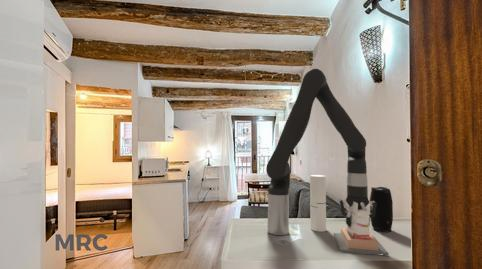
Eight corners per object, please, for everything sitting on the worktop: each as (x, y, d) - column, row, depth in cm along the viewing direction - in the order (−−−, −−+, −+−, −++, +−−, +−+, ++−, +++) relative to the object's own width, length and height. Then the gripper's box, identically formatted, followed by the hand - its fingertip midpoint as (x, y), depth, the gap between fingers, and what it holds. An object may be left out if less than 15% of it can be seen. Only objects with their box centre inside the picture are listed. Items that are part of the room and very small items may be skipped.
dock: (340, 251, 91) (340, 240, 92) (333, 235, 109) (333, 225, 109) (388, 256, 88) (388, 244, 88) (373, 238, 105) (373, 228, 106)
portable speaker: (395, 233, 111) (394, 189, 112) (372, 231, 114) (371, 188, 115) (389, 227, 119) (388, 186, 120) (368, 226, 122) (367, 186, 123)
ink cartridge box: (370, 242, 94) (369, 203, 95) (358, 242, 94) (357, 203, 95) (358, 234, 103) (357, 198, 104) (346, 234, 103) (346, 198, 103)
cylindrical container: (327, 232, 113) (326, 176, 114) (311, 230, 114) (310, 176, 116) (325, 227, 120) (324, 175, 121) (309, 226, 121) (309, 174, 123)
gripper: (339, 184, 98) (340, 228, 97) (379, 186, 94) (380, 231, 94) (336, 182, 105) (337, 222, 104) (373, 183, 102) (374, 225, 101)
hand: (357, 226), depth 99 cm, fingers closed on ink cartridge box, 5 cm apart
